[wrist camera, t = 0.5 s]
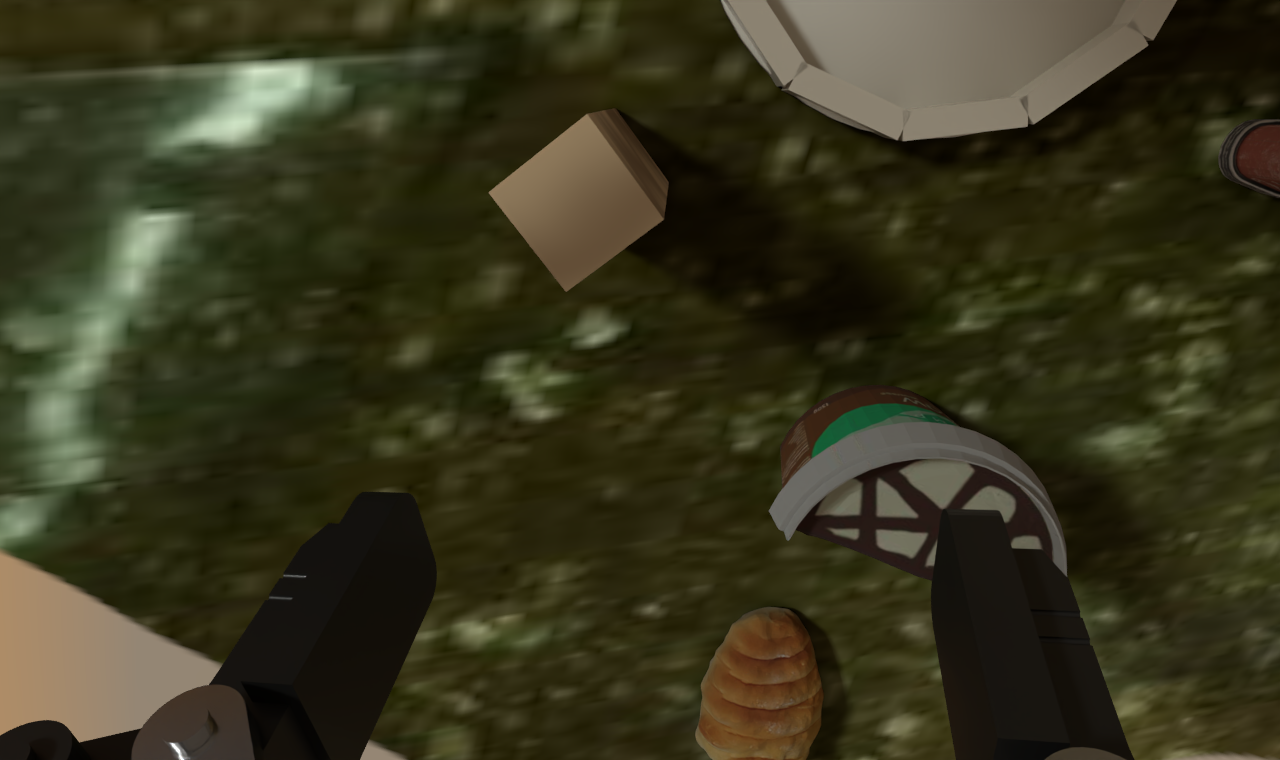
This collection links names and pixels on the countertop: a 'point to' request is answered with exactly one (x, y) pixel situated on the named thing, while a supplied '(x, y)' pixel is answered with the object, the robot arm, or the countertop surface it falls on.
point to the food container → (903, 479)
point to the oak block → (585, 196)
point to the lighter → (1253, 155)
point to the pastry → (762, 691)
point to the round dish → (941, 57)
